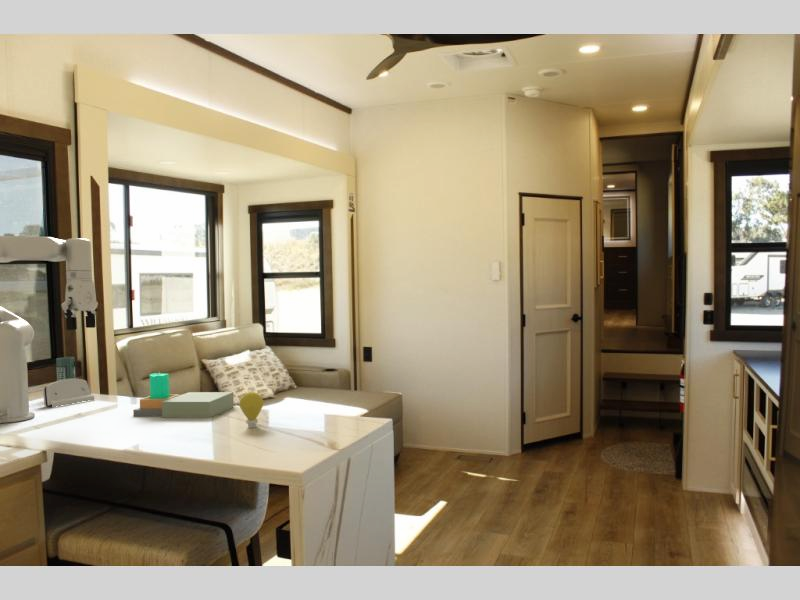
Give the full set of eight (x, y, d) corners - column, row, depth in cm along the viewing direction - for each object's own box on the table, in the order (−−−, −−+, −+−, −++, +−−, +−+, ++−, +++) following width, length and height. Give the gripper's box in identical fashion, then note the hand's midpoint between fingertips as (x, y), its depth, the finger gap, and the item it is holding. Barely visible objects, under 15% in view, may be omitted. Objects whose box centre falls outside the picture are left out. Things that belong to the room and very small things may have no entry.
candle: (147, 406, 217) (146, 369, 217) (165, 403, 221) (163, 367, 221) (155, 408, 213) (153, 371, 213) (173, 405, 217) (171, 369, 217)
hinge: (52, 408, 230) (45, 380, 231) (45, 411, 232) (38, 384, 234) (95, 400, 244) (89, 374, 246) (88, 403, 247) (82, 378, 248)
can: (79, 395, 256) (77, 357, 256) (67, 398, 250) (65, 359, 250) (66, 395, 258) (64, 357, 257) (54, 397, 252) (52, 358, 252)
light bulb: (267, 427, 189) (265, 392, 188) (244, 430, 185) (242, 395, 185) (259, 423, 194) (258, 389, 194) (237, 426, 191) (236, 391, 191)
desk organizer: (210, 417, 205) (209, 401, 204) (130, 417, 209) (129, 401, 209) (233, 406, 222) (233, 392, 222) (159, 406, 227) (158, 392, 226)
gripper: (72, 275, 205) (74, 330, 206) (105, 276, 222) (107, 326, 223) (51, 276, 207) (53, 330, 207) (85, 276, 224) (87, 327, 224)
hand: (81, 328), depth 215 cm, fingers open, 9 cm apart
